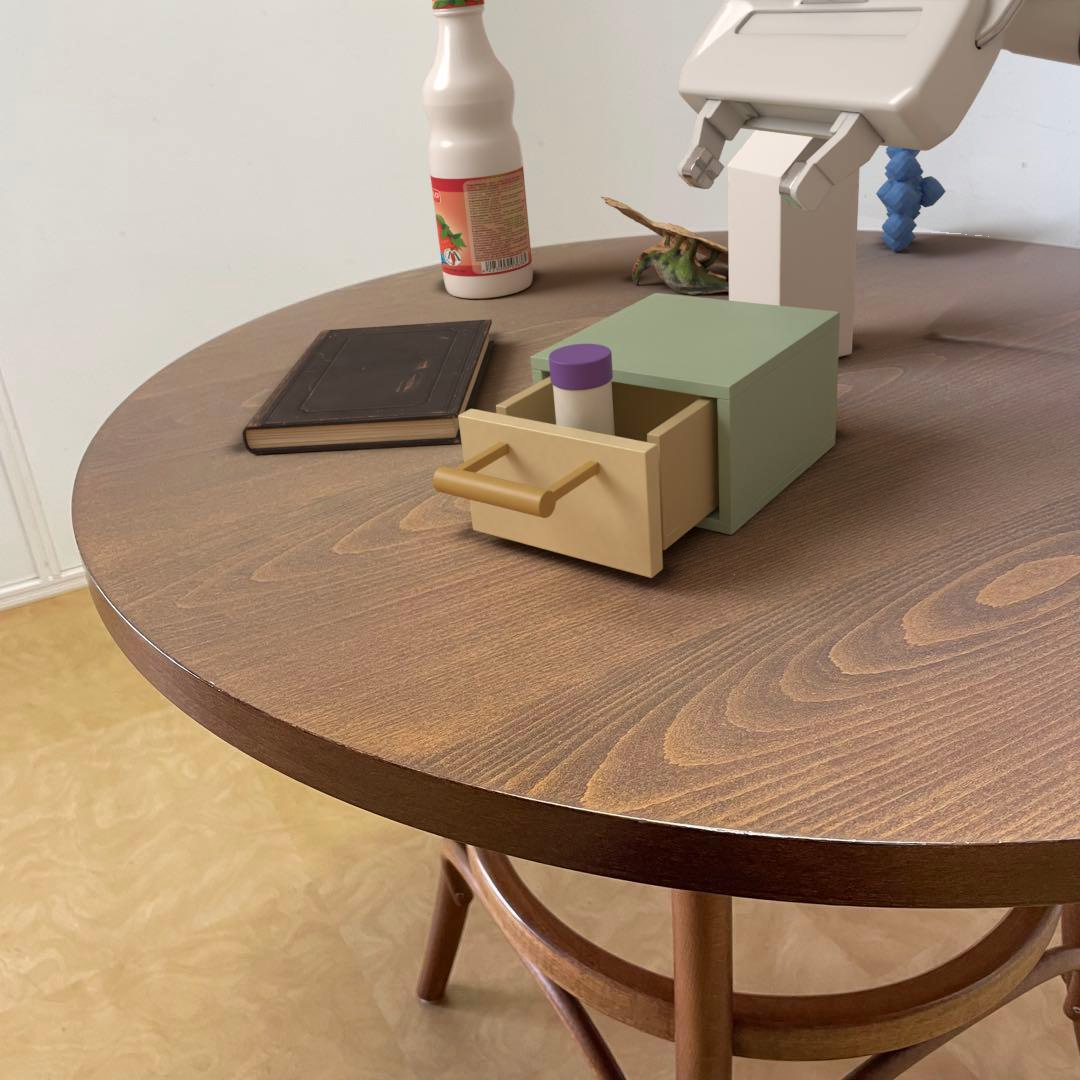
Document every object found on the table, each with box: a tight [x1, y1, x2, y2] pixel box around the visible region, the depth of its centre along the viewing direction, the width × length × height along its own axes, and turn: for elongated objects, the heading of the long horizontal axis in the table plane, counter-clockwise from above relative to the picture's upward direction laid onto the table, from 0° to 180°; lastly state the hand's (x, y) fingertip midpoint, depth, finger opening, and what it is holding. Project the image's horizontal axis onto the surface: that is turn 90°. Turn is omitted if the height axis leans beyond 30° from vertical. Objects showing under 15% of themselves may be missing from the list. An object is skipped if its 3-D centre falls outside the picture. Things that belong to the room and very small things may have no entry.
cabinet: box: [529, 292, 840, 536], centre depth 72 cm, size 15×14×9 cm
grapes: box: [875, 146, 946, 253], centre depth 114 cm, size 12×7×12 cm, turn 164°
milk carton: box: [727, 130, 861, 358], centre depth 88 cm, size 7×7×19 cm
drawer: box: [432, 376, 719, 579], centre depth 64 cm, size 19×12×7 cm, turn 143°
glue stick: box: [549, 344, 615, 436], centre depth 63 cm, size 3×3×10 cm
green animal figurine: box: [600, 196, 729, 296], centre depth 112 cm, size 18×14×8 cm
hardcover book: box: [241, 318, 495, 455], centre depth 92 cm, size 16×23×2 cm
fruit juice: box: [421, 0, 534, 300], centre depth 112 cm, size 9×9×28 cm
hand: (738, 191), depth 61 cm, fingers open, 8 cm apart
